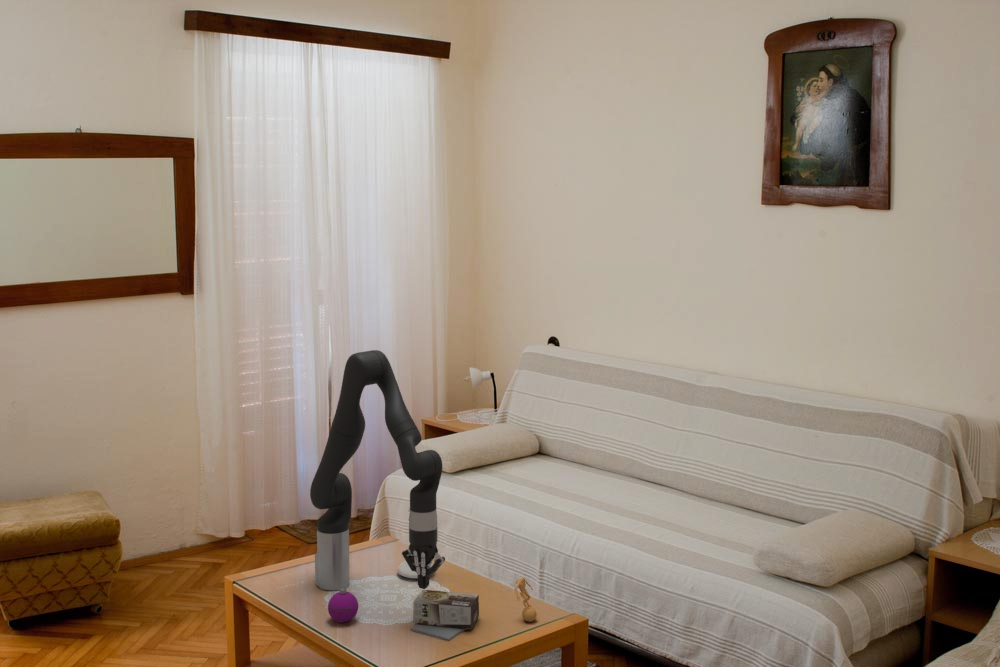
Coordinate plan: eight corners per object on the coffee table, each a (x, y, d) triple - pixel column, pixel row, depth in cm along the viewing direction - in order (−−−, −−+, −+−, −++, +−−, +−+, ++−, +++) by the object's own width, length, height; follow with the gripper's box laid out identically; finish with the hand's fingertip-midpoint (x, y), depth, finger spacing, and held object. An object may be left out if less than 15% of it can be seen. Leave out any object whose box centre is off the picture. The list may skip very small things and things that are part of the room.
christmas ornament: (362, 616, 275) (362, 581, 273) (352, 629, 267) (351, 593, 265) (334, 613, 276) (334, 578, 275) (323, 626, 268) (322, 590, 267)
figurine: (528, 628, 268) (529, 585, 266) (508, 623, 271) (509, 581, 269) (542, 616, 275) (543, 575, 273) (523, 612, 278) (523, 570, 276)
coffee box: (412, 624, 268) (471, 630, 265) (412, 601, 267) (471, 607, 264) (422, 610, 277) (479, 616, 274) (422, 588, 276) (479, 594, 273)
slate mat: (410, 630, 266) (410, 628, 266) (433, 615, 275) (433, 613, 275) (448, 641, 260) (448, 638, 260) (471, 625, 269) (471, 623, 269)
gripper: (394, 525, 266) (395, 587, 269) (436, 533, 260) (436, 597, 262) (410, 517, 273) (411, 578, 275) (451, 525, 266) (451, 587, 269)
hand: (423, 587), depth 269 cm, fingers closed
